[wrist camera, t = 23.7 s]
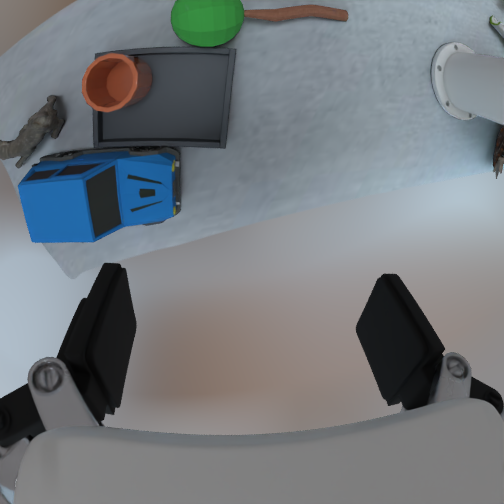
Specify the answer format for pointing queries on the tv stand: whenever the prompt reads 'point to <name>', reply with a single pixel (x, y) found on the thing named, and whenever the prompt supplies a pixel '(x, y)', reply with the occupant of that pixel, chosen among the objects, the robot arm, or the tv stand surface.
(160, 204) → the toy car
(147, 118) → the tray
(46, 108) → the dog figurine
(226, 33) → the tree
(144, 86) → the terracotta pot
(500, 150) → the toy
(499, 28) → the leek
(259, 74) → the tv stand surface
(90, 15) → the tv stand surface
